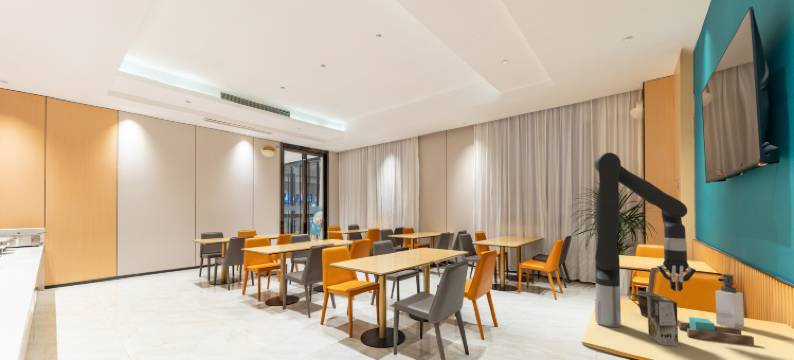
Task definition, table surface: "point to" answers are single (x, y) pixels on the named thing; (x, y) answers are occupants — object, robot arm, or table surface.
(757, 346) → the table surface
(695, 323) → the block
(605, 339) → the table surface
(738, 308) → the soap dispenser
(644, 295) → the ceramic cup
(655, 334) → the coffee box
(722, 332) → the chute
